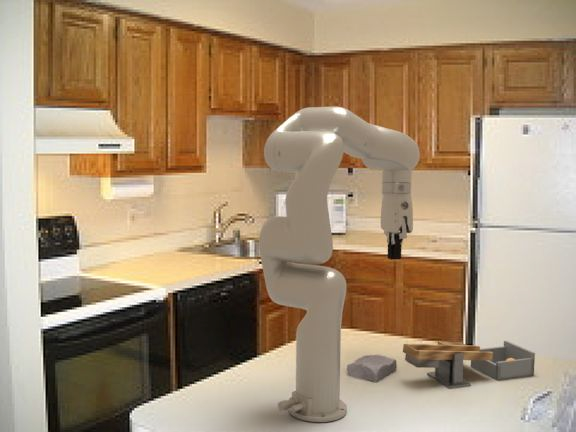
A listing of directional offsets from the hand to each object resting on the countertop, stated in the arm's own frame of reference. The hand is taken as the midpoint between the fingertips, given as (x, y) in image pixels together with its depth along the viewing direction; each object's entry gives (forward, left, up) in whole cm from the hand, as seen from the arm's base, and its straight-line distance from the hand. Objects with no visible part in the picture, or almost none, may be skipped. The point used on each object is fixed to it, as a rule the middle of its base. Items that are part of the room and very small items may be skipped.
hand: (394, 258), depth 166 cm
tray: (+17, -22, -28) cm, 40 cm away
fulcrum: (+1, -18, -28) cm, 33 cm away
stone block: (-10, -2, -29) cm, 30 cm away
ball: (+18, -24, -26) cm, 40 cm away
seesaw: (+1, -14, -24) cm, 28 cm away
